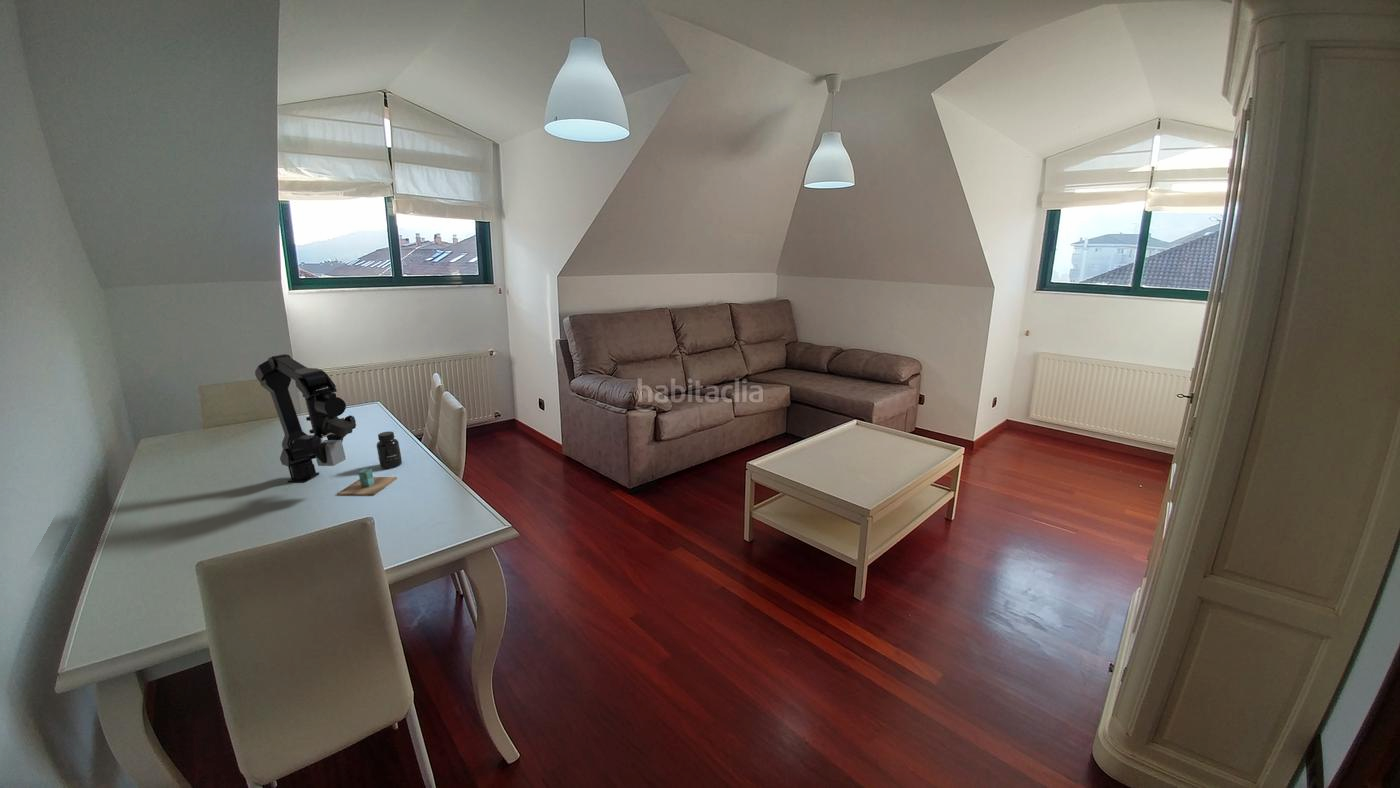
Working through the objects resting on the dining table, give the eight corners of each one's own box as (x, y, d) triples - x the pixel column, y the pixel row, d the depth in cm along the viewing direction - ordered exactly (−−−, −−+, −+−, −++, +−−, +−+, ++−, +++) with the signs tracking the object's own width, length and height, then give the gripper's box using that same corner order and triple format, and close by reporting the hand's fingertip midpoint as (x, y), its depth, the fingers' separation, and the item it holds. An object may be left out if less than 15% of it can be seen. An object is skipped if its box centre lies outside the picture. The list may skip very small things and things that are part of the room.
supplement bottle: (392, 469, 187) (386, 437, 183) (376, 468, 188) (369, 436, 185) (407, 462, 193) (400, 430, 190) (390, 460, 194) (384, 429, 191)
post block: (337, 495, 169) (333, 478, 167) (363, 478, 180) (359, 463, 179) (374, 495, 168) (370, 479, 166) (397, 478, 179) (394, 463, 178)
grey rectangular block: (318, 465, 165) (313, 445, 164) (330, 459, 170) (326, 439, 168) (333, 465, 165) (328, 445, 163) (345, 459, 170) (341, 439, 168)
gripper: (321, 421, 153) (333, 472, 158) (365, 402, 171) (375, 448, 175) (285, 421, 154) (298, 471, 159) (333, 402, 172) (344, 448, 177)
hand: (331, 459), depth 167 cm, fingers closed on grey rectangular block, 5 cm apart
